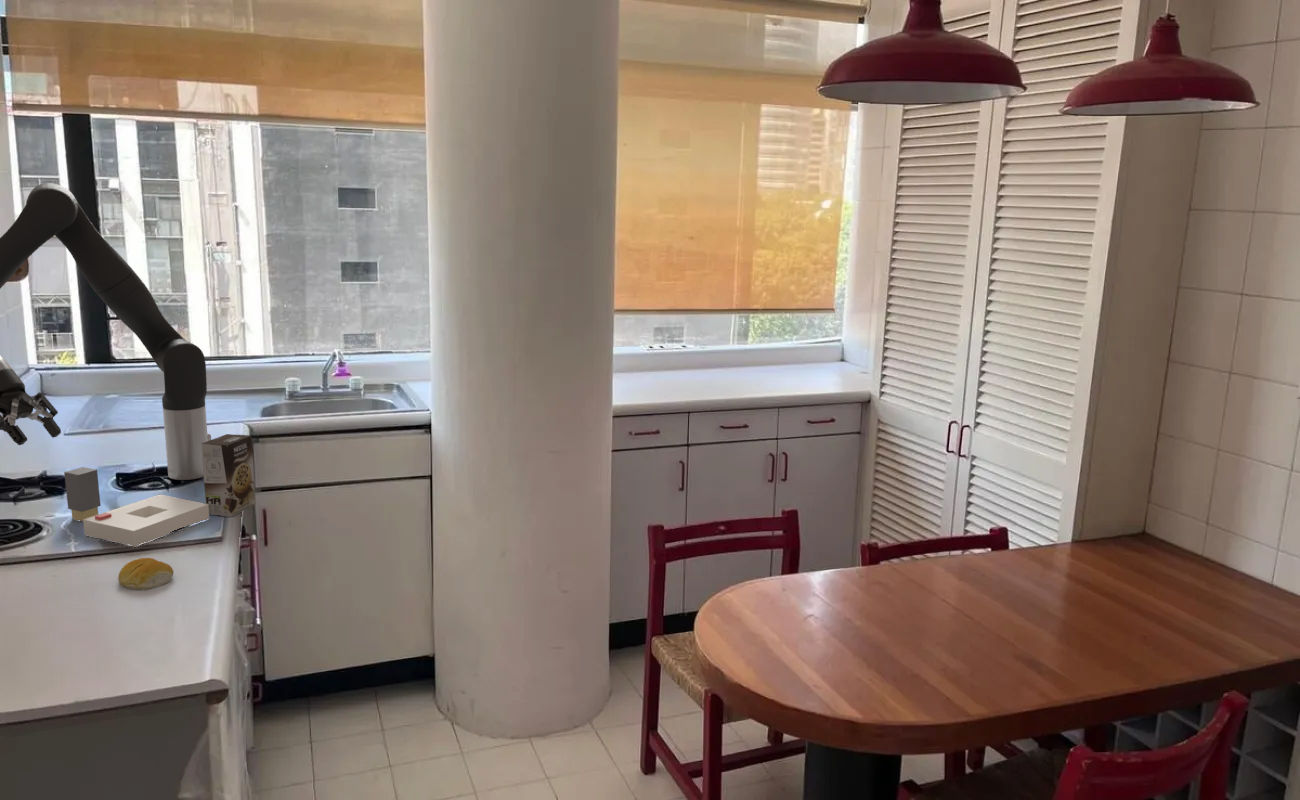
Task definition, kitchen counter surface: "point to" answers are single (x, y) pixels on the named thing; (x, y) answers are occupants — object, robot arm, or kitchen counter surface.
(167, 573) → the bread roll
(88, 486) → the plug
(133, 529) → the socket plate
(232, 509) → the coffee box
